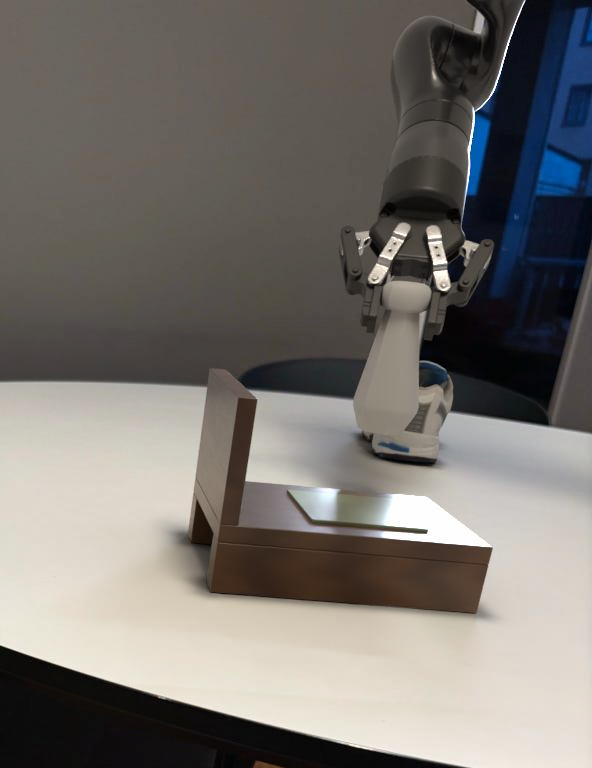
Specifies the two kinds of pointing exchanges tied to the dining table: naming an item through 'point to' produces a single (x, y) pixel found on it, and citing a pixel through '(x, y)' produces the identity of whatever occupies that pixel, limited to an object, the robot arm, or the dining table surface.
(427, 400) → the athletic shoe
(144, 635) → the dining table surface
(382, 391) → the salt shaker
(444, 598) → the l-shaped wooden stand
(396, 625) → the dining table surface
